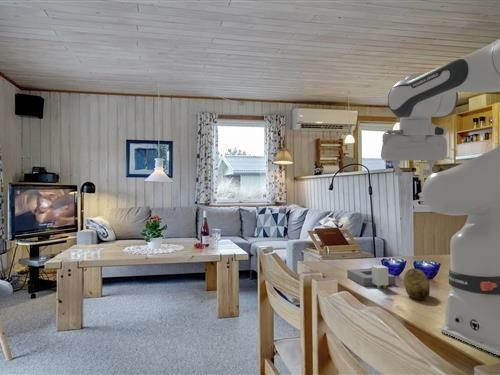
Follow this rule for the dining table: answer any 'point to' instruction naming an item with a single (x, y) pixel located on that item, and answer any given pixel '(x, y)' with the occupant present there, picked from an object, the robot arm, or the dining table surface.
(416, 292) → the potato
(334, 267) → the dining table surface
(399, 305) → the dining table surface
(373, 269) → the plug
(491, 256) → the robot arm
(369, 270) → the socket
